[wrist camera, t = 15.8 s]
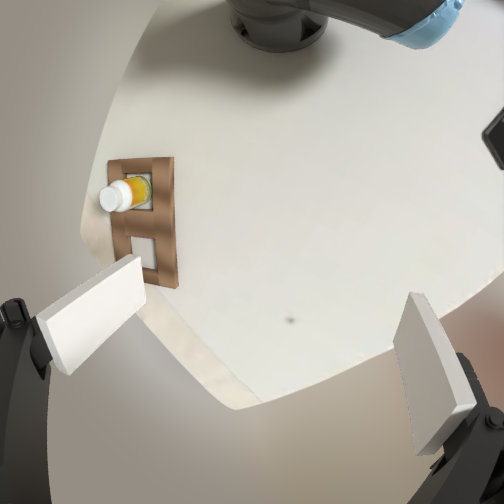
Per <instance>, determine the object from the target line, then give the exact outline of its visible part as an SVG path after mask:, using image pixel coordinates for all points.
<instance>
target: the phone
mask: <svg viewBox="0 0 504 504" xmlns="http://www.w3.org/2000/svg"><path fill="white" fill-rule="evenodd" d="M484 138H485V141H486V142H487V144H488V146H489V147H490V149H491V151H492V152H493V154H494V156H495V157H496V159H497V161H498V163H499V165H500V166H501V168H502V169H503V170H504V110H503V111H502V112H501V114H500V115H499V116H498V117H497V118H496V120H495V121H494V122H493V123H492V124H491V125H490V126H489V128H488V129H487V130H486V131H485V133H484Z"/></svg>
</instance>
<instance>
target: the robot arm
mask: <svg viewBox="0 0 504 504" xmlns="http://www.w3.org/2000/svg"><path fill="white" fill-rule="evenodd" d="M226 1H227V2H228V3H229V4H230V19H231V23H232V25H233V27H234V29H235V31H236V32H237V33H238V35H239V36H240V37H241V38H242V39H243V40H244V41H245V42H246V43H248V44H249V45H251V46H253V47H255V48H257V49H260V50H264V51H268V52H279V53H280V52H291V51H295V50H299V49H302V48H304V47H307V46H308V45H310V44H312V43H313V42H315V41H316V40H317V39H318V38H319V37H320V36H321V35H322V34H323V32H324V31H325V29H326V27H327V23H328V17H331V18H335V19H338V20H341V21H344V22H347V23H350V24H353V25H355V26H358V27H361V28H363V29H366V30H369V31H371V32H374V33H376V34H378V35H379V36H380V37H381V38H383V39H387V40H392V41H395V42H397V43H399V44H402V45H404V46H406V47H409V48H411V49H425V48H428V47H430V46H432V45H434V44H435V43H437V42H438V41H439V40H440V39H441V38H442V37H443V36H444V35H445V34H446V33H447V32H448V31H449V29H450V28H451V27H452V25H453V24H454V22H455V21H456V19H457V17H458V15H459V12H458V10H460V8H461V7H462V6H463V3H464V0H226ZM146 302H147V301H146V295H145V288H144V281H143V273H142V265H141V257H140V256H139V255H133V254H128V255H126V256H125V257H123V258H122V259H120V260H118V261H117V262H115V263H114V264H112V265H110V266H109V267H107V268H106V269H104V270H102V271H101V272H99V273H98V274H97V275H95V276H93V277H92V278H90V279H88V280H87V281H85V282H84V283H82V284H81V285H79V286H78V287H76V288H75V289H73V290H72V291H70V292H69V293H67V294H66V295H64V296H63V297H61V298H60V299H58V300H57V301H55V302H54V303H53V304H51V305H50V306H48V307H47V308H45V309H44V310H43V311H41V312H40V313H38V314H37V315H36V316H34V317H33V318H32V319H30V316H29V313H28V310H27V308H26V305H25V302H24V300H23V299H21V298H14V299H10V300H9V301H6V302H5V303H3V304H2V305H1V307H0V310H1V312H2V315H3V318H4V320H5V322H4V321H3V319H2V316H1V314H0V504H52V502H51V495H50V486H49V476H48V462H47V411H48V395H49V384H50V375H51V366H50V364H49V362H50V361H51V360H52V359H53V360H54V362H55V365H56V367H57V369H58V370H60V371H61V372H63V373H65V374H66V375H68V376H69V375H70V374H71V373H72V372H73V371H74V370H75V369H76V368H77V367H79V365H81V364H82V363H83V362H84V361H85V360H86V359H87V358H88V357H89V356H90V355H91V354H92V353H93V352H94V351H95V350H96V349H97V348H98V347H99V346H100V345H101V344H102V343H103V342H104V341H105V340H106V339H107V338H108V337H109V336H111V335H112V334H113V333H114V332H115V331H116V330H117V329H118V328H119V327H120V326H121V325H122V324H123V323H124V322H125V321H126V320H127V319H129V318H130V317H131V316H132V315H133V314H134V313H135V312H136V311H137V310H138V309H139V308H140V307H141V306H143V305H144V304H145V303H146ZM393 343H394V347H395V350H396V355H397V359H398V362H399V367H400V371H401V375H402V380H403V384H404V389H405V393H406V398H407V404H408V409H409V415H410V420H411V426H412V433H413V440H414V447H415V455H416V456H421V455H430V454H435V453H436V452H437V451H438V449H439V448H440V447H441V446H442V445H443V447H444V454H443V455H442V456H441V457H440V458H439V459H438V460H437V461H436V462H435V463H434V464H433V465H432V466H431V467H430V469H432V468H433V467H434V468H433V469H432V471H431V472H430V474H429V475H428V477H427V478H426V480H425V481H424V482H423V484H422V485H421V487H420V488H419V489H418V491H417V492H416V493H415V494H414V496H413V497H412V498H411V500H410V501H409V502H408V503H407V504H504V413H503V412H502V411H501V410H499V409H498V408H495V407H490V406H489V404H488V401H487V399H486V397H485V394H484V392H483V389H482V387H481V385H480V382H479V380H477V376H476V374H475V372H474V370H473V367H472V366H471V363H470V361H469V360H468V359H467V358H466V357H465V356H464V355H463V354H462V353H455V351H454V349H453V347H452V345H451V343H450V341H449V339H448V337H447V335H446V333H445V331H444V329H443V327H442V325H441V324H440V322H439V320H438V318H437V316H436V314H435V313H434V311H433V309H432V307H431V305H430V304H429V302H428V300H427V298H426V297H425V295H424V294H422V293H413V292H409V295H408V298H407V302H406V305H405V308H404V311H403V314H402V317H401V320H400V323H399V326H398V329H397V331H396V334H395V337H394V340H393Z"/></svg>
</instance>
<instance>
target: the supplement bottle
mask: <svg viewBox="0 0 504 504" xmlns="http://www.w3.org/2000/svg"><path fill="white" fill-rule="evenodd" d="M151 195H152V186H151V183H150V181H149V180H148V179H147V178H145V177H143V176H136V177H131V178H126V179H121V180H117V181H114V182H112V183H111V184H110V186H108V187H105V188H103V189H102V191H101V193H100V204H101V206H102V208H103V209H104V210H106V211H108V212H112V211H116V212H124V211H127V210H129V209H132V208H135V207H138V206H140V205H143V204H145V203H147V202H148V201H149V200H150V198H151Z"/></svg>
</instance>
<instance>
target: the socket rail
mask: <svg viewBox="0 0 504 504" xmlns="http://www.w3.org/2000/svg"><path fill="white" fill-rule="evenodd" d="M142 172H152V188H153V210H149V209H133V208H132V209H129V210H127V211H124V212H116V211H112V212H111V223H112V233H113V241H114V249H115V257H116V262H117V261H118V260H120V259H122V258H123V257H125V256H126V255H128V254H132V247H131V237H130V236H135V237H143V238H151V239H155V245H156V257H157V267H158V270H154V269H148V268H143V267H142V273H143V281H144V283H148V284H153V285H158V286H163V287H168V288H173V289H176V288H177V287H178V286H179V283H178V270H177V255H176V237H175V211H174V157H156V158H135V159H119V160H109V161H108V181H109V186H110V184H111V183H112V182H114V181H117V180H121V179H126V178H127V173H142Z"/></svg>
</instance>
